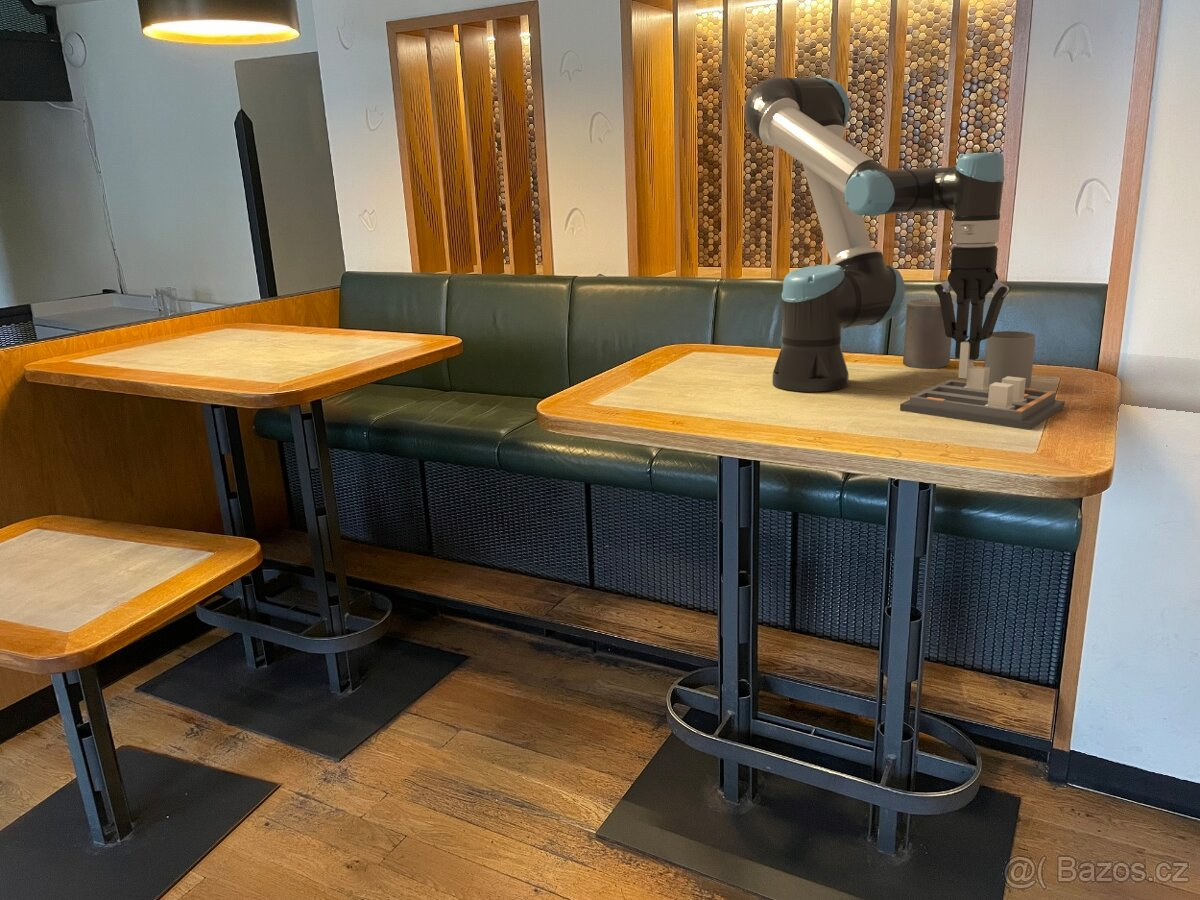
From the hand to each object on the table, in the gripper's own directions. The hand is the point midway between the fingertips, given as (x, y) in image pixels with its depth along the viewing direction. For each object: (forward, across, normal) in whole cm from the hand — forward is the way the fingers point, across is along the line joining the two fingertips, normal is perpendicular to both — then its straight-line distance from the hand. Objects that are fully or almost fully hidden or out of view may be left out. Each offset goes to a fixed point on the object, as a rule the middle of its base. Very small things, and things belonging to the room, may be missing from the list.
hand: (965, 376), depth 159 cm
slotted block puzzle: (+4, +5, -5) cm, 9 cm away
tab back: (+3, +2, 0) cm, 4 cm away
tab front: (+3, +10, -11) cm, 15 cm away
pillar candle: (+4, -19, +26) cm, 32 cm away
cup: (+5, +2, +15) cm, 16 cm away
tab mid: (+3, +10, -5) cm, 12 cm away
